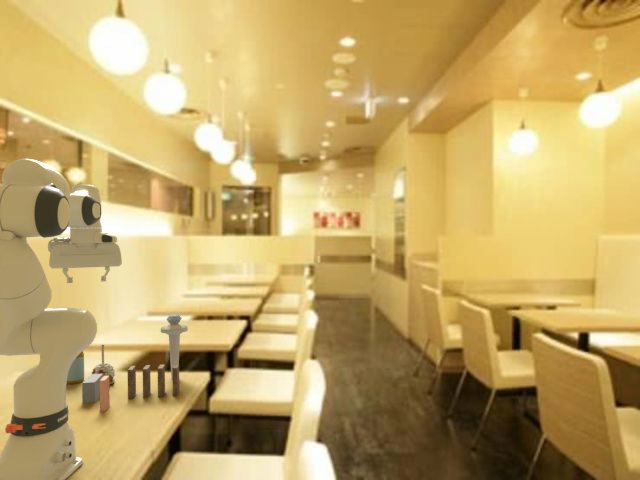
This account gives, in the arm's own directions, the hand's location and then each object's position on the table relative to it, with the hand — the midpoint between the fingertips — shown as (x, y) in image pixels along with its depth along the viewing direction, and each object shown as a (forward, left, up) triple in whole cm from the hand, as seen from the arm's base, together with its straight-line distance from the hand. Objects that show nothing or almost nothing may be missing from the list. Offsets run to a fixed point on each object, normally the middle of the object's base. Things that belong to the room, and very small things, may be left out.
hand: (86, 282), depth 149 cm
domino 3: (+18, -14, -42) cm, 48 cm away
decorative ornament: (+34, +5, -42) cm, 54 cm away
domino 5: (+18, -24, -42) cm, 52 cm away
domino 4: (+18, -19, -42) cm, 49 cm away
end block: (+18, +4, -42) cm, 46 cm away
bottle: (+39, +17, -42) cm, 60 cm away
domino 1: (+7, -3, -42) cm, 43 cm away
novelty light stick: (+36, -21, -42) cm, 59 cm away
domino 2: (+18, -9, -42) cm, 47 cm away
